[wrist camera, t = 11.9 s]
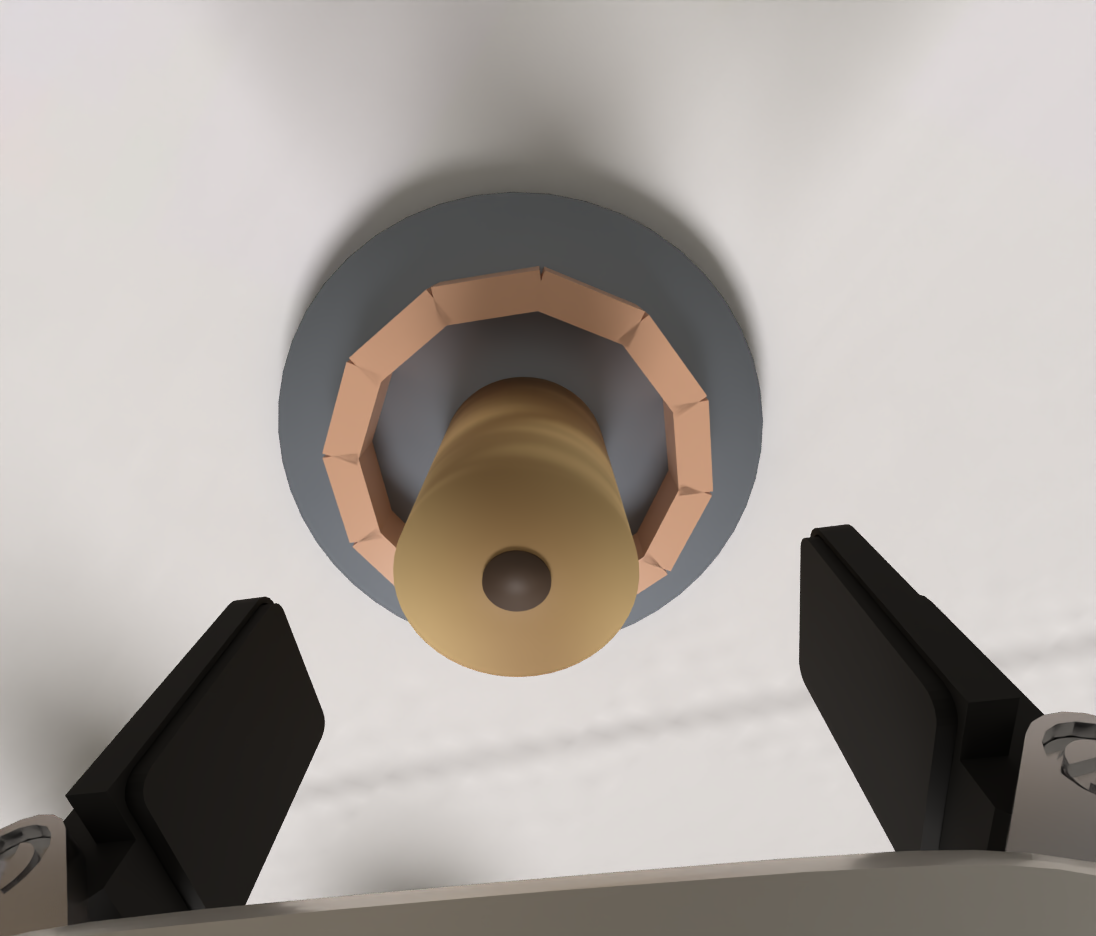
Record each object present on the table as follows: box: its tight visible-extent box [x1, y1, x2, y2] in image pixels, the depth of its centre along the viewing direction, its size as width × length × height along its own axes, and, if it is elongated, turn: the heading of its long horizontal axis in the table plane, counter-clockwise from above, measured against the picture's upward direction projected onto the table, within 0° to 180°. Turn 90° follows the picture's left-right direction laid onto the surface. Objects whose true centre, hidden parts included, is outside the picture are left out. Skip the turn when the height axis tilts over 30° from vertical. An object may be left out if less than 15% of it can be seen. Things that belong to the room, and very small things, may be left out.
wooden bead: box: [393, 377, 639, 677], centre depth 15 cm, size 5×5×7 cm
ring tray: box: [278, 192, 763, 629], centre depth 18 cm, size 15×15×2 cm
